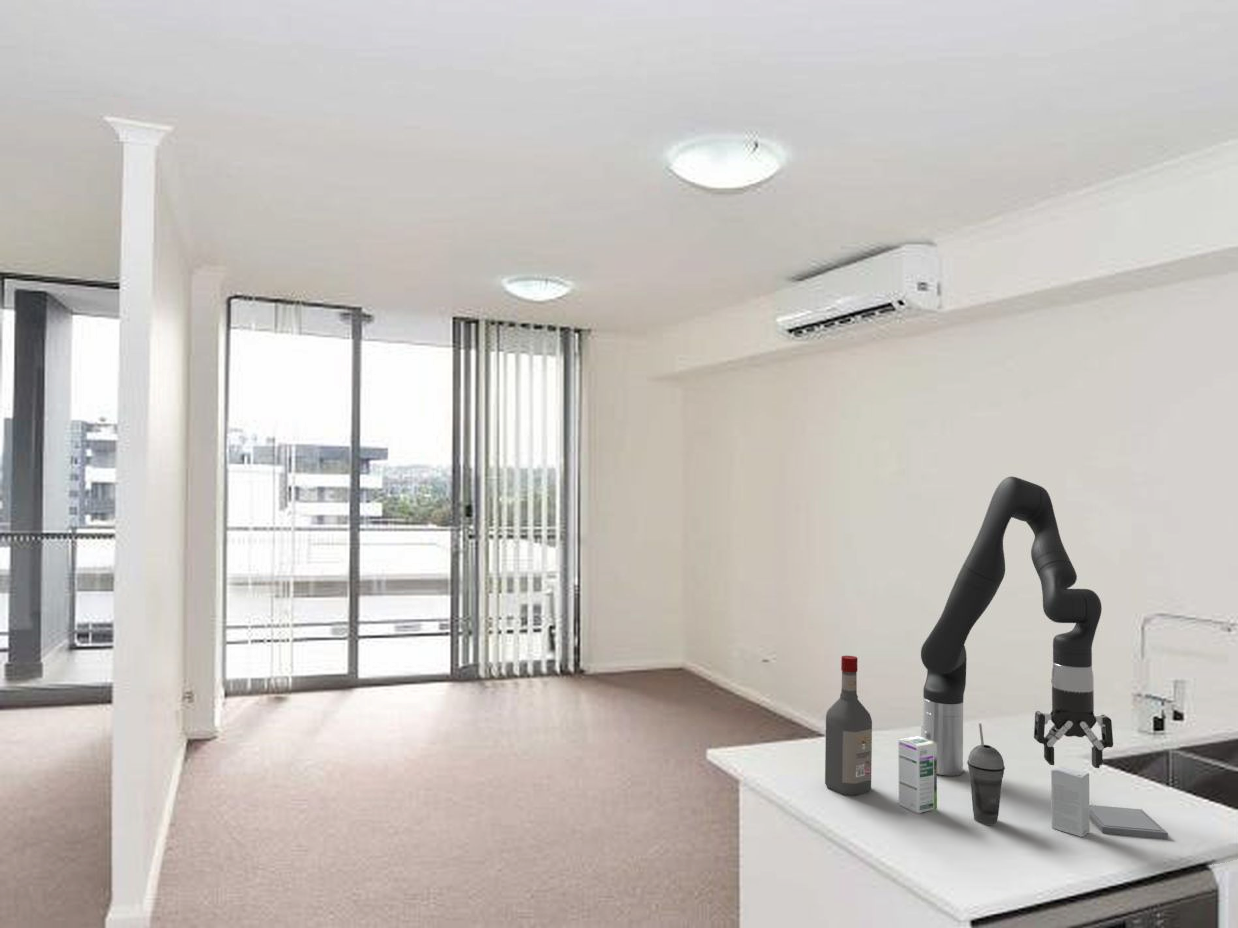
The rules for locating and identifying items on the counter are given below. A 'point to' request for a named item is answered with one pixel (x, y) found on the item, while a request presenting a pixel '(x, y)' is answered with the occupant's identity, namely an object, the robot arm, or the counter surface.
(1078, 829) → the skincare box
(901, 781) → the syrup box
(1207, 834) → the counter surface
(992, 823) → the beverage cup
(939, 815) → the counter surface
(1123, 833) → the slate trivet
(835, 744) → the liquor
